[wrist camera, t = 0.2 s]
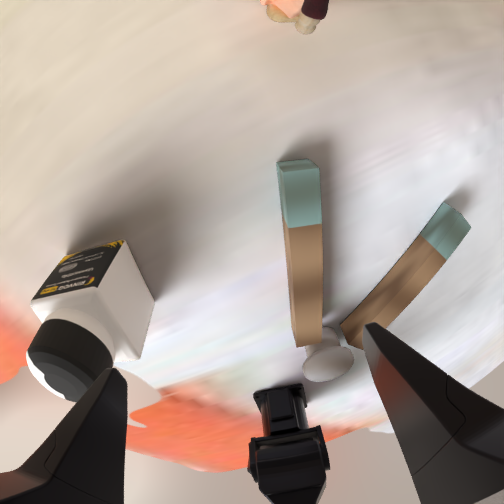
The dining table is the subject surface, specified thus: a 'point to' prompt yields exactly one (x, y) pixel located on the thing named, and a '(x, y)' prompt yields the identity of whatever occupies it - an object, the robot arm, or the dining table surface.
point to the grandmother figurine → (297, 12)
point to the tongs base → (308, 270)
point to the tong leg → (408, 274)
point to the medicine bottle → (89, 318)
